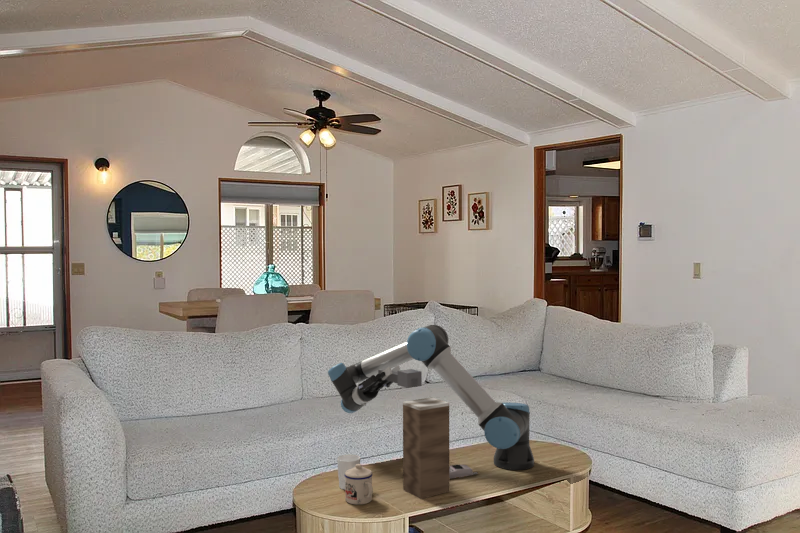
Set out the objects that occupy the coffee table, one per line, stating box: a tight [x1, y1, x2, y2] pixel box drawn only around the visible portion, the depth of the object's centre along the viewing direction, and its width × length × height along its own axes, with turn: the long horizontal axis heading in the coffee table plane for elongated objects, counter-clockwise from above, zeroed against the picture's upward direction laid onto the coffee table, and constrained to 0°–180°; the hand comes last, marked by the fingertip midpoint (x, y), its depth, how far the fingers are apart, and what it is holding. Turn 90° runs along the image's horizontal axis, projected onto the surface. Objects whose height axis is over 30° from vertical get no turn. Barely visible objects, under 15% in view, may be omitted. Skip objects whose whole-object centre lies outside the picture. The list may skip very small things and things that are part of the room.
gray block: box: [378, 368, 423, 389], centre depth 247 cm, size 21×6×5 cm, turn 34°
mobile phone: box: [449, 464, 478, 479], centre depth 248 cm, size 6×6×25 cm
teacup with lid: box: [344, 463, 374, 506], centre depth 224 cm, size 12×9×12 cm
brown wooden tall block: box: [402, 397, 450, 500], centre depth 233 cm, size 10×12×30 cm
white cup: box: [336, 454, 361, 491], centre depth 238 cm, size 8×8×10 cm
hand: (394, 369), depth 248 cm, fingers closed on gray block, 3 cm apart
